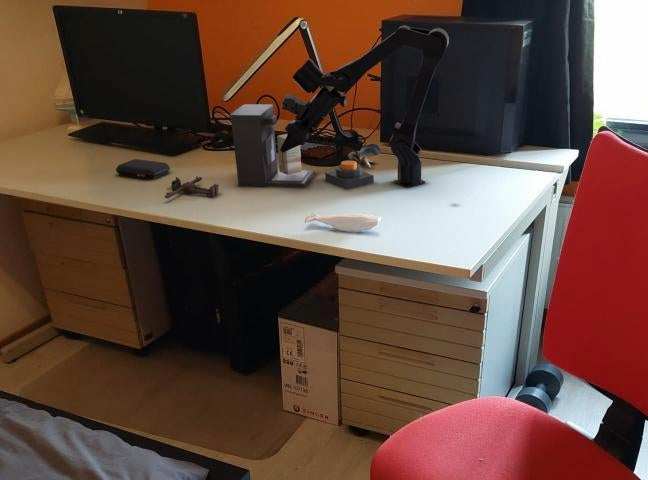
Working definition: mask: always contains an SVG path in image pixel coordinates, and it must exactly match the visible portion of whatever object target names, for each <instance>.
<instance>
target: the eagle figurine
mask: <svg viewBox="0 0 648 480" xmlns="http://www.w3.org/2000/svg"><path fill="white" fill-rule="evenodd" d="M381 152H382V148H381V147H380V145H378V144H377V143H369V144H367V145H364V146H361V148H360V150H359V152H358V153H356V152H355V151H351V152H349V153H348V154H347V157H348V160H349V161H356V162H357V165H360V166H361V164H363V165H365V166H366V167H368V168H369V169H371V168H372V167H371V164H374V161H371V160H370V159H369V158H371V157H375V156H376V157H377V156H378V155H380V154H381Z"/></svg>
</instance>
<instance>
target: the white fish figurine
mask: <svg viewBox="0 0 648 480" xmlns="http://www.w3.org/2000/svg"><path fill="white" fill-rule="evenodd" d="M381 219H382V217H381V216H377V215H371V214H366V213H363V214H357V213H356V214H355V213H354V214H351V213H338V214H334V215H333V214H332V215H330V214H329V215H317V214H315V213H313V212H311V213H310V214H309V215H308V216H306V218H305V219H304V223H309V222H310V223H311V222H314V221H315V222H320V223H323V224H324V225H328V226H330V227H332V228H334V229H335V230H337V231H339V232H349V233H350V232H351V233H352V232H354V233H355V232H356V233H357V232H365V231H369V230H371V229H373V228H374V227H377V226H378V224H380V222H381Z"/></svg>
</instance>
